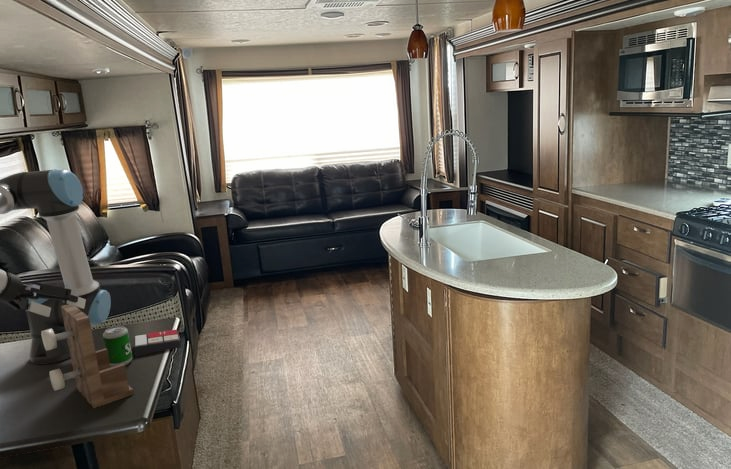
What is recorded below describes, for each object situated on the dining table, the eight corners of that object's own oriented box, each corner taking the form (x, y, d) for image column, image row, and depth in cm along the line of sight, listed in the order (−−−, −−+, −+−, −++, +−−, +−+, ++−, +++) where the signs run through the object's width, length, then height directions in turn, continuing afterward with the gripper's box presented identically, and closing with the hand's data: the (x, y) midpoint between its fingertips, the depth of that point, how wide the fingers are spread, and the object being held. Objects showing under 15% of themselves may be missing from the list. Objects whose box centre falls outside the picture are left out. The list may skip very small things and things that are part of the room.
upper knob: (43, 347, 160) (40, 328, 158) (75, 338, 165) (72, 320, 163) (48, 353, 155) (44, 333, 154) (80, 343, 160) (77, 325, 159)
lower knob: (51, 387, 162) (48, 368, 161) (82, 377, 167) (79, 359, 166) (56, 393, 158) (52, 374, 157) (88, 383, 163) (84, 364, 162)
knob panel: (76, 387, 172) (60, 306, 167) (114, 375, 179) (100, 296, 174) (93, 408, 159) (77, 320, 153) (133, 394, 166) (119, 309, 160)
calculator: (180, 338, 197) (133, 345, 192) (181, 349, 198) (134, 357, 193) (177, 328, 208) (133, 334, 202) (178, 339, 208) (134, 345, 203)
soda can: (124, 368, 184) (117, 333, 181) (103, 368, 185) (97, 333, 183) (137, 358, 191) (131, 325, 188) (117, 358, 192) (111, 324, 190)
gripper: (-39, 306, 150) (32, 327, 167) (29, 289, 141) (97, 313, 159) (-31, 280, 153) (38, 303, 171) (35, 261, 145) (101, 288, 162)
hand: (66, 308), depth 165 cm, fingers open, 13 cm apart
